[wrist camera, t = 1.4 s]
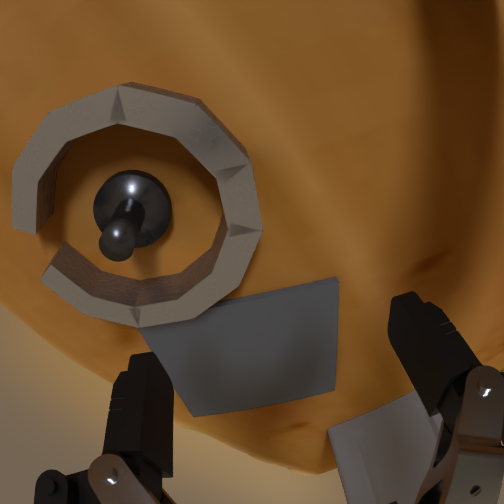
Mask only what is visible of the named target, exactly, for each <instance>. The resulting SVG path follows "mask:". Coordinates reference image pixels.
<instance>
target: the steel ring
mask: <svg viewBox="0 0 504 504" xmlns="http://www.w3.org/2000/svg"><path fill="white" fill-rule="evenodd" d="M117 123H118V124H123V125H127V126H131V127H135V128H140V129H144V130H148V131H152V132H156V133H160V134H164V135H167V136H171V137H175V138H176V139H177V140H178V141H179V142H180V143H181V144H182V145H183V146H184V147H185V148H186V149H187V150H188V151H189V152H190V153H191V154H192V155H193V156H194V157H195V158H196V159H197V160H198V161H199V162H200V163H201V164H202V165H203V166H204V167H205V168H206V169H207V170H208V171H209V172H210V173H211V174H212V175H213V176H214V177H215V178H216V179H217V183H218V188H219V192H220V197H221V201H222V205H223V210H224V214H223V217H222V219H221V222H220V225H219V228H218V231H217V233H216V236H215V239H214V242H213V245H212V247H211V248H210V249H209V250H208V251H207V252H205V253H204V254H203V255H202V256H200V257H199V258H198V259H197V260H196V261H194V262H193V263H192V264H191V265H189V266H188V267H187V268H186V269H185V270H183V271H182V272H181V273H178V274H173V275H168V276H163V277H158V278H153V279H148V280H143V281H139V280H135V279H131V278H127V277H123V276H119V275H115V274H111V273H107V272H103V271H101V270H100V269H98V268H97V267H96V266H95V265H93V264H92V263H91V262H90V261H88V260H87V259H86V258H85V257H83V256H82V255H81V254H80V253H79V252H77V251H76V250H75V249H74V248H73V247H71V246H70V245H69V244H68V243H67V242H66V241H65V242H64V244H63V245H62V246H61V248H60V249H59V250H58V252H57V253H56V254H55V256H54V257H53V259H52V260H51V262H50V263H49V265H48V267H47V268H46V270H45V272H44V273H43V275H42V277H41V278H40V281H41V282H42V283H43V284H45V285H46V286H47V287H48V288H50V289H51V290H52V291H54V292H55V293H56V294H57V295H59V296H60V297H61V298H63V299H64V300H65V301H67V302H68V303H69V304H71V305H72V306H73V307H75V308H76V309H77V310H79V311H80V312H82V313H83V314H84V313H85V315H89V316H92V317H96V318H100V319H104V320H108V321H112V322H116V323H120V324H124V325H128V326H133V327H137V328H138V327H139V328H141V327H147V326H154V325H160V324H166V323H172V322H177V321H183V320H189V319H193V318H195V317H197V316H198V315H199V314H201V313H202V312H204V311H205V310H206V309H208V308H209V307H211V306H212V305H213V304H215V303H216V302H217V301H219V300H220V299H222V298H223V297H224V296H226V295H227V294H229V293H230V292H231V291H233V290H234V289H235V288H237V287H238V286H239V285H240V283H241V280H242V278H243V276H244V274H245V271H246V269H247V267H248V264H249V262H250V260H251V257H252V255H253V253H254V251H255V248H256V246H257V244H258V241H259V239H260V237H261V234H262V232H263V227H262V221H261V215H260V210H259V204H258V198H257V192H256V186H255V181H254V175H253V169H252V164H251V161H250V159H249V156H248V154H247V151H246V149H245V148H244V146H243V145H242V144H241V143H240V142H239V141H238V140H237V139H236V138H235V137H234V135H233V134H232V133H231V132H230V131H229V130H228V129H227V128H226V127H225V126H224V125H223V123H222V122H221V121H220V120H219V119H218V118H217V117H216V116H215V115H214V114H213V113H212V112H211V111H210V110H209V109H208V108H207V106H206V105H205V104H204V103H203V102H202V101H201V100H200V99H199V100H198V98H195V97H191V96H187V95H184V94H180V93H176V92H172V91H168V90H164V89H160V88H156V87H152V86H148V85H143V84H139V83H134V82H129V83H124V84H120V85H116V86H114V87H111V88H108V89H105V90H102V91H100V92H97V93H94V94H91V95H89V96H86V97H84V98H81V99H79V100H76V101H74V102H71V103H69V104H67V105H64V106H62V107H60V108H57V109H55V110H53V111H51V112H50V113H48V114H47V116H46V117H45V118H44V120H43V121H42V123H41V124H40V125H39V127H38V128H37V130H36V131H35V133H34V134H33V136H32V137H31V139H30V140H29V142H28V143H27V145H26V147H25V148H24V150H23V151H22V153H21V155H20V156H19V158H18V160H17V161H16V163H15V165H14V166H13V171H12V228H14V229H17V230H21V231H24V232H28V233H31V234H35V235H36V234H37V233H38V231H39V230H40V229H41V228H42V226H43V225H44V224H45V223H46V222H47V220H48V219H49V218H50V217H51V216H52V214H53V205H54V192H55V182H56V172H57V165H58V164H59V163H60V161H61V160H62V159H63V157H64V156H65V155H66V153H67V152H68V151H69V149H70V148H71V147H72V145H73V144H74V143H75V142H76V140H77V139H78V138H79V137H80V136H83V135H85V134H88V133H91V132H94V131H96V130H99V129H102V128H105V127H108V126H111V125H114V124H117Z"/></svg>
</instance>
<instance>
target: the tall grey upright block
mask: <svg viewBox="0 0 504 504" xmlns="http://www.w3.org/2000/svg"><path fill="white" fill-rule="evenodd" d="M442 420H443V418H442V416H441V414H440V413H438V414H436V415H434V416H432V417H429V415H428V413H427V411H426V409H425V407H424V405H423V403H422V401H421V399H420V397H419V395H418V393H417V391H416V390H414V391H412V392H410V393H408V394H406V395H404V396H402V397H400V398H398V399H396V400H394V401H392V402H390V403H388V404H385V405H383V406H381V407H379V408H377V409H374V410H372V411H370V412H368V413H365V414H363V415H361V416H358V417H356V418H353V419H351V420H348V421H346V422H343V423H341V424H338V425H335V426H333V427H330V428H328V429H327V433H328V436H329V440H330V443H331V447H332V450H333V454H334V457H335V461H336V464H337V468H338V471H339V475H340V478H341V482H342V486H343V489H344V493H345V496H346V500H347V504H389V503H391V502H394V501H397V504H414V503H415V500H416V497H417V495H418V492H419V489H420V487H421V484H422V482H423V480H424V478H425V477H426V475H427V473H428V470H429V467H430V464H431V461H432V457H433V454H434V450H435V446H436V443H437V439H438V435H439V430H440V426H441V422H442ZM497 504H499V503H498V502H497Z"/></svg>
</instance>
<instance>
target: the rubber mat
mask: <svg viewBox="0 0 504 504" xmlns="http://www.w3.org/2000/svg"><path fill="white" fill-rule="evenodd" d="M338 302H339V281H338V279H337V277H334V278H329V279H325V280H321V281H316V282H312V283H307V284H303V285H298V286H294V287H289V288H284V289H280V290H275V291H270V292H266V293H261V294H256V295H251V296H246V297H241V298H236V299H231V300H226V301H221V302H216V303H215V304H213V305H212V306H211V307H209V308H208V309H206V310H205V311H204V312H202V313H201V314H199V315H198V316H197V317H195V318H193V319H189V320H183V321H177V322H172V323H166V324H160V325H154V326H147V327H141V328H139V327H138V329H139V331H140V332H141V334H142V336H143V338H144V339H145V341H146V343H147V345H148V346H149V348H150V350H151V351H152V352H154V353H155V354H156V356H157V357H158V359H159V361H160V362H161V364H162V366H163V367H164V369H165V370H166V372H167V374H168V375H169V377H170V379H171V381H172V384H173V387H174V388H175V390H176V392H177V393H178V395H179V396H180V398H181V399H182V401H183V402H184V404H185V405H186V407H187V408H188V409H189V411H190V412H191V414H192V415H193V417H199V416H207V415H214V414H222V413H228V412H235V411H241V410H247V409H253V408H258V407H264V406H269V405H274V404H279V403H284V402H288V401H293V400H297V399H302V398H306V397H310V396H314V395H318V394H322V393H326V392H330V391H334V390H335V377H336V360H337V338H338Z"/></svg>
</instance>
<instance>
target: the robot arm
mask: <svg viewBox="0 0 504 504" xmlns="http://www.w3.org/2000/svg"><path fill="white" fill-rule="evenodd" d="M388 337H389V340H390V343H391V345H392V347H393V349H394V351H395V352H396V354H397V356H398V358H399V360H400V361H401V363H402V365H403V367H404V369H405V371H406V373H407V374H408V376H409V378H410V380H411V382H412V384H413V386H414V388H415V390H416V391H417V393H418V395H419V397H420V399H421V401H422V403H423V405H424V407H425V409H426V411H427V413H428V415H429V417H432V416H434V415H436V414H438V413H440V414H441V416H442V418H443V420H442V422H441V426H440V430H439V435H438V439H437V443H436V446H435V450H434V454H433V457H432V461H431V464H430V467H429V470H428V473H427V475H426V477H425V478H424V480H423V482H422V484H421V487H420V489H419V492H418V495H417V497H416V500H415V503H414V504H497V502H498V498H499V494H500V489H501V485H502V480H503V475H504V446H502V445H501V440H502V442H503V444H504V372H499V371H498V370H497V369H495V368H493V367H491V366H485V365H482V364H481V363H480V361H479V360H478V359H477V357H476V356H475V354H474V353H473V351H472V350H471V349H470V347H469V346H468V344H467V343H466V342H465V340H464V339H463V337H462V336H461V335H460V333H459V332H458V331H456V328H455V326H454V325H453V324H452V322H451V323H450V320H449V318H448V317H447V316H446V314H445V313H444V312H443V311H442V309H440V308H439V307H437V306H436V305H434V304H433V303H431V302H426V303H423V301H422V300H421V299H420V297H419V296H418V295H417V294H416V293H415V292H414V291H411V292H408V293H405V294H402V295H398V296H395V297H393V298H392V300H391V307H390V315H389V322H388ZM111 399H112V400H111V401H110V407H109V409H110V411H109V413H108V419H107V426H106V433H105V440H104V447H103V452H102V455H101V456H99V457H98V458H96V459H95V460H94V461H93V462H92V463H91V465H90V467H89V469H87V470H84V471H81V472H77V473H74V474H70V475H66V476H65V475H64V474H62V473H61V472H59V471H57V470H47V471H45V472H43V473H42V474H41V475H40V476H39V478H38V479H37V482H36V487H35V496H34V504H176V503H175V502H174V501H173V499H172V498H171V497H170V496H169V495H168V494H167V492H166V491H165V490H164V489H163V488H162V478H170V477H173V408H174V389H173V384H172V381H171V379H170V377H169V375H168V374H167V372H166V370H165V369H164V367H163V366H162V364H161V362H160V361H159V359H158V357H157V356H156V354H155V353H154V352H147V353H140V354H134V355H131V357H130V360H129V365H128V371H123V372H120V374H119V376H118V378H117V379H116V381H115V383H114V384H113V389H112V395H111ZM389 504H397V501H394V502H391V503H389Z"/></svg>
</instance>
